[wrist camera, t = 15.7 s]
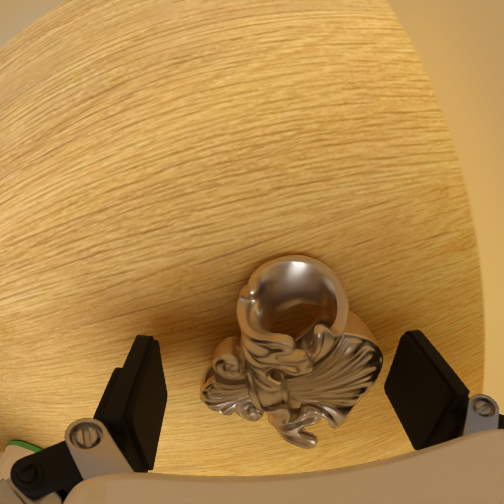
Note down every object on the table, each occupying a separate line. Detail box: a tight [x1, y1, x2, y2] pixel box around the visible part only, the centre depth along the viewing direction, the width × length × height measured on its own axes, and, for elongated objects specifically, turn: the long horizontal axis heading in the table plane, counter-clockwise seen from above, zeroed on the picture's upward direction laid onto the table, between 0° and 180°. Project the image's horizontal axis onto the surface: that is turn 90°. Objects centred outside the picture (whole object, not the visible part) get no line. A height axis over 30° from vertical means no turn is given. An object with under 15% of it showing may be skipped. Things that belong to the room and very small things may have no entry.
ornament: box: [200, 255, 383, 449], centre depth 11 cm, size 8×7×4 cm
